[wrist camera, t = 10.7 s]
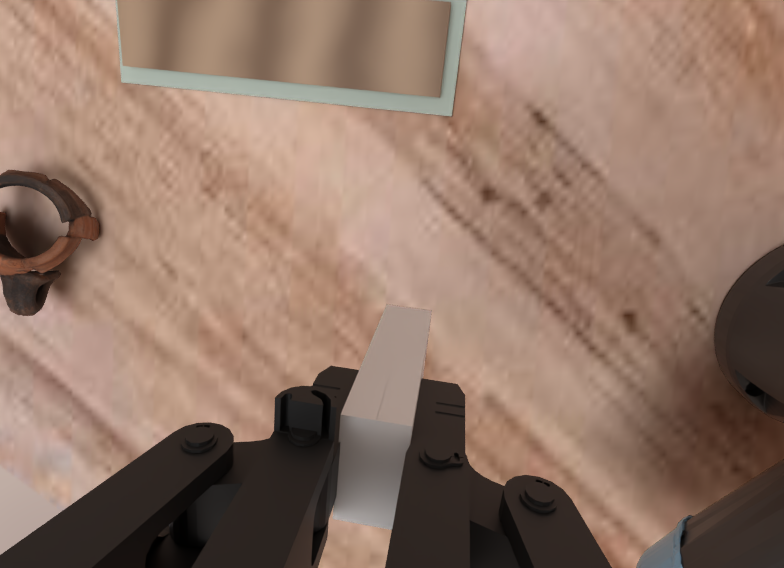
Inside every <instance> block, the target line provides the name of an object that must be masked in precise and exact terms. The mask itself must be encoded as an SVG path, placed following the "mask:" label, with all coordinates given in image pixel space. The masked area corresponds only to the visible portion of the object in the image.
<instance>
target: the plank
mask: <svg viewBox="0 0 784 568" xmlns="http://www.w3.org/2000/svg"><path fill="white" fill-rule="evenodd" d="M117 6H118V17H119V29H120V40H121V52H122V63H123V66H128V67H138V68H148V69H158V70H168V71H178V72H188V73H198V74H208V75H218V76H228V77H238V78H248V79H258V80H268V81H278V82H288V83H298V84H308V85H318V86H328V87H338V88H348V89H358V90H368V91H378V92H388V93H398V94H408V95H418V96H428V97H438V98H440V95H441V87H442V79H443V70H444V62H445V53H446V45H447V37H448V28H449V20H450V12H451V2H446V1H433V0H117Z"/></svg>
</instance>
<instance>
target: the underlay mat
mask: <svg viewBox="0 0 784 568" xmlns="http://www.w3.org/2000/svg"><path fill="white" fill-rule="evenodd" d="M433 1H446V2H451V12H450V20H449V28H448V37H447V45H446V53H445V62H444V70H443V79H442V87H441V95H440V98H438V97H428V96H418V95H408V94H398V93H388V92H378V91H368V90H358V89H348V88H338V87H328V86H318V85H308V84H298V83H288V82H278V81H268V80H258V79H248V78H238V77H228V76H218V75H208V74H198V73H188V72H178V71H168V70H158V69H148V68H138V67H128V66H123V63H122V52H121V40H120V29H119V17H118V6H117V0H116V12H117V26H118V40H119V54H120V68H121V82H124V83H134V84H143V85H153V86H163V87H172V88H182V89H192V90H201V91H211V92H221V93H230V94H240V95H250V96H259V97H269V98H279V99H288V100H298V101H308V102H317V103H327V104H337V105H346V106H356V107H366V108H376V109H385V110H395V111H405V112H414V113H424V114H434V115H443V116H452V111H453V103H454V95H455V87H456V80H457V72H458V64H459V57H460V49H461V41H462V33H463V26H464V18H465V10H466V3H467V0H433Z"/></svg>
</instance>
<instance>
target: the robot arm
mask: <svg viewBox="0 0 784 568" xmlns="http://www.w3.org/2000/svg"><path fill="white" fill-rule="evenodd" d="M431 313H432V311H431V310H424V309H416V308H409V307H402V306H395V305H388V304H387V305H386V307H385V310H384V312H383V314H382V317H381V319H380V322H379V324H378V326H377V329H376V331H375V334H374V336H373V338H372V341H371V343H370V345H369V348H368V350H367V353H366V355H365V357H364V360H363V362H362V365H361V367H360V369H359V370H355V369H348V368H342V367H335V366H330V367H329V368H327V369H325V370H324V371H322V372H321V373H319V374H318V376H317V378H316V380H315V381H314V383H313V386H299V387H293V388H289V389H287V390H284V391H282V392H281V393H280V394H278V395H277V396H276V397H275V420H274V432H273V434H272V435H271V437H270V438H269V439H265V440H261V441H252V442H234V436H233V434H232V433H231V431H230V429H228V428H226V427H224V426H223V425H220V424H215V423H196V424H192V425H188V426H185V427H183V428H181V429H179V430H177V431H175V432H173V433H172V434H171V435H169V436H168V437H166V438H165V439H164V440H162V441H161V442H159V443H158V444H156V445H155V446H154V447H152V448H151V449H149V450H148V451H147V452H145V453H144V454H142V455H141V456H140V457H138V458H137V459H135V460H134V461H132V462H131V463H130V464H128V465H127V466H125V467H124V468H123V469H121V470H120V471H118V472H117V473H116V474H114V475H113V476H111V477H110V478H108V479H107V480H106V481H104V482H103V483H101V484H100V485H99V486H97V487H96V488H94V489H93V490H92V491H90V492H89V493H87V494H86V495H84V496H83V497H82V498H80V499H79V500H77V501H76V502H75V503H73V504H72V505H70V506H69V507H68V508H66V509H65V510H63V511H62V512H60V513H59V514H58V515H56V516H55V517H53V518H52V519H51V520H49V521H48V522H47V523H45V524H44V525H42V526H41V527H39V528H38V529H36V530H35V531H34V532H32V533H31V534H29V535H28V536H27V537H25V538H24V539H22V540H21V541H20V542H18V543H17V544H15V545H14V546H13V547H11V548H10V549H8V550H7V551H5V552H4V553H3V554H1V555H0V568H318V565H319V562H320V559H321V556H322V552H323V549H324V546H325V543H326V540H327V534H328V520H329V517H330V514H331V511H332V508H333V505H334V509H333V519H336V520H342V521H347V522H352V523H358V524H363V525H369V526H374V527H379V528H385V529H390V530H392V533H391V538H390V544H389V550H388V555H387V561H386V566H385V568H612V567H611V566H610V564H609V562H608V561H607V559H606V557H605V555H604V554H603V552H602V550H601V549H600V547H599V545H598V544H597V542H596V540H595V539H594V537H593V535H592V534H591V532H590V530H589V528H588V527H587V525H586V523H585V522H584V520H583V518H582V517H581V515H580V513H579V512H578V510H577V508H576V507H575V505H574V503H573V501H572V500H571V498H570V497H569V496H568V495H567V494H566V492H565V491H564V490H563V489H561V488H560V487H559V486H557V485H556V484H554V483H553V482H551V481H548V480H546V479H543V478H541V477H536V476H530V475H523V476H516V477H514V478H512V479H510V480H509V481H507V483H506V485H505V486H503V485H500V484H498V483H495V482H493V481H491V480H489V479H487V478H485V477H483V476H482V475H480V474H479V473H478V472H476V471H475V470H474V469H473V468H472V467H471V466H470V464H469V462H468V459H467V455H466V454H465V394H464V393H463V392H462V390H461V389H460V387H459V386H458V384H453V383H447V382H440V381H434V380H428V379H423V373H424V366H425V358H426V351H427V343H428V336H429V328H430V321H431ZM714 341H715V351H716V356H717V360H718V362H719V365H720V367H721V369H722V371H723V373H724V375H725V377H726V378H727V379H728V381H729V382H730V383H731V384H732V386H733V387H734V388H735V389H736V390H737V391H738V392H739V393H740V394H741V395H743V396H744V397H745V398H746V399H747V400H748V401H749V402H750V403H751V404H752V405H753V406H755V407H756V408H757V409H759V410H760V411H762V412H763V413H765V414H767V415H768V416H770V417H772V418H774V419H776V420H778V421H781V422H783V423H784V245H783V246H781V247H780V248H778V249H776V250H774V251H772V252H771V253H769V254H767V255H766V256H765V257H763V258H762V259H760V260H759V261H758V262H756V263H755V264H754V265H753V266H752V267H750V268H749V269H748V270H747V271H746V272H745V273H744V274H743V275H742V276H741V277H740V279H739V280H738V281H737V282H736V283H735V285H734V286H733V287H732V289H731V290H730V292H729V293H728V295H727V297H726V299H725V300H724V302H723V305H722V307H721V309H720V312H719V315H718V318H717V322H716V327H715V340H714ZM636 568H784V459H783V460H782V461H780V462H778V463H777V464H775V465H774V466H772V467H771V468H769V469H767V470H766V471H764V472H763V473H761V474H760V475H758V476H756V477H755V478H753V479H752V480H750V481H749V482H747V483H745V484H744V485H742V486H741V487H739V488H738V489H736V490H734V491H733V492H731V493H730V494H728V495H727V496H725V497H723V498H722V499H720V500H719V501H717V502H716V503H714V504H712V505H711V506H709V507H708V508H706V509H705V510H703V511H701V512H700V513H698V514H697V515H695V516H691V515H689V516H687V517H685V518H683V519H682V520H681V521H680V522H679V523H678V525H677V527H676V529H674V530H673V531H671V532H670V533H669V534H667V535H666V536H665V537H663V538H662V539H661V540H659V541H658V542H656V543H655V544H654V545H652V546H651V547H650V548H648V549H647V550H646V551H645V552H644V553H643V555H642V556H641V557H640V559H639V561H638V563H637V566H636Z"/></svg>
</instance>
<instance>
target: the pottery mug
mask: <svg viewBox="0 0 784 568" xmlns="http://www.w3.org/2000/svg"><path fill="white" fill-rule="evenodd" d="M7 186H25V187H30V188H33V189H35V190H37V191H39V192H41V193H42V194H44V195H45V196H47V197H48V198H49V199H50V200H51V201H52V202H53V203H54V205H55V206H56V208H57V210H58V212H59V214H60V218H61V222H62V223H64V222H67V221H68V222H69V231H68V233H67V235H66V236H65V237H64V236H59V237H58V239H57V240H56V242H55V243H54V244H53V246H52V247H51V248H50V249H49V250H47V251H46V252H44V253H42V254H40V255H38V256H35V257H31V258H26V257H24V256H22V255H21V254H20V253H19V252H18V251H17V250H16V249H15V248H13V246H12V245H11V244H10V242H9V241H8V238H7V237H6V230H5V220H6V214H5V213H4V212H0V277H1V280H2V284H3V295H4V297H5V299H6V302H7V305H8V307H9V308H10V311H11V312H13V313H15V314H17V315H23V316H32V315H35V314H36V313H37V312H38V311H40V310H41V308H42V307H43V305H44V303H45V300H46V297H47V294H48V290H49V288H50V285H51V284H52V283H53V281H55V280H56V279H57V278H58V277H59V276H60V275H61V272H60V271H59V270H58V271H49V270H50V269H52V268H54V267H55V266H57V265H59V264H60V263H62V262H63V261H64V260H65V259H66V258H67V257H68V256H70V255H71V254H72V253H73V252H74V251H75V250H76V248H77V247H78V245H79V244H80V242H81V239H82V238H86V239H90V240H92V241H94V240H96V239H98V236H99V223H98V221H97V220H96V218H94V217H91V211H90V209H89V208H88V207H87V206H86V204H85V203H84V202H83V201H82V200H81V199H80V198H79V197H78V196H77V195H76V194H75V193H74V192H73V191H72V190H71V189H70V188H69V187H67V186H66V185H64V184H63V183H61V182H60V181H59V180H57V179H52V180H49V179H48V178H47V176H46V175H44V174H39V173H34V172H23V171H16V170H7V171H6V172H4V173H2V174H1V175H0V188H3V187H7ZM31 270H37V271H31Z"/></svg>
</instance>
